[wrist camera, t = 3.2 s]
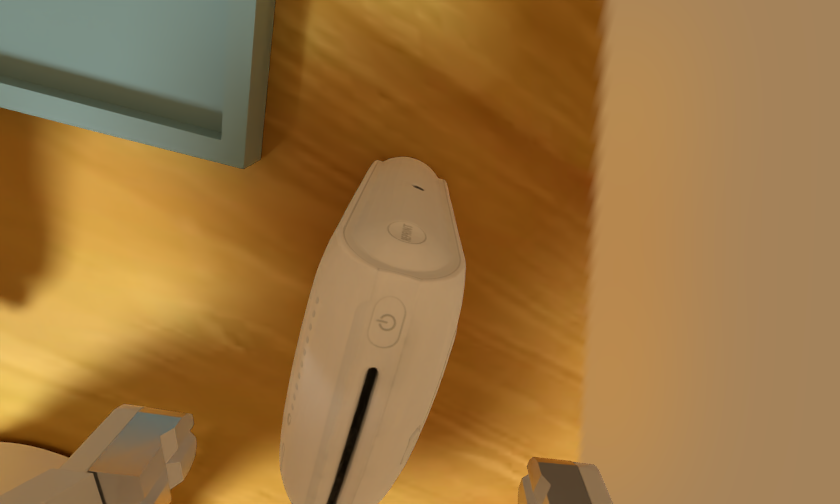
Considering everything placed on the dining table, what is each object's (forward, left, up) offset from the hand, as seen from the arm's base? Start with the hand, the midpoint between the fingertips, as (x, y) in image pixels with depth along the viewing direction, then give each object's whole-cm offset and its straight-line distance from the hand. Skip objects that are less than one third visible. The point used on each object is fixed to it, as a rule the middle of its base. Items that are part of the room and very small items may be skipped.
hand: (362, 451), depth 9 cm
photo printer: (0, 0, -13) cm, 13 cm away
